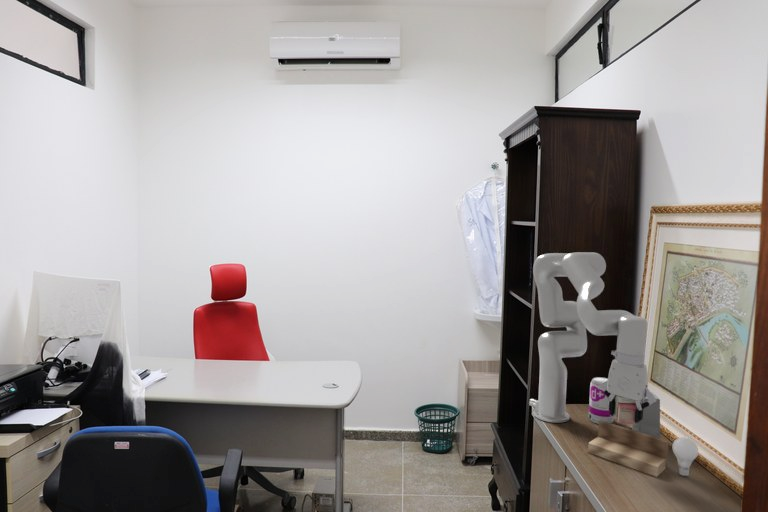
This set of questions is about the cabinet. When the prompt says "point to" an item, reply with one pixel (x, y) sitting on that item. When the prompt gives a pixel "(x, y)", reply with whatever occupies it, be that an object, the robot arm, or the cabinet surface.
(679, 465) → the lightbulb
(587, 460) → the cabinet surface
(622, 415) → the small box
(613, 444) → the board
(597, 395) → the supplement can
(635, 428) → the skincare box
